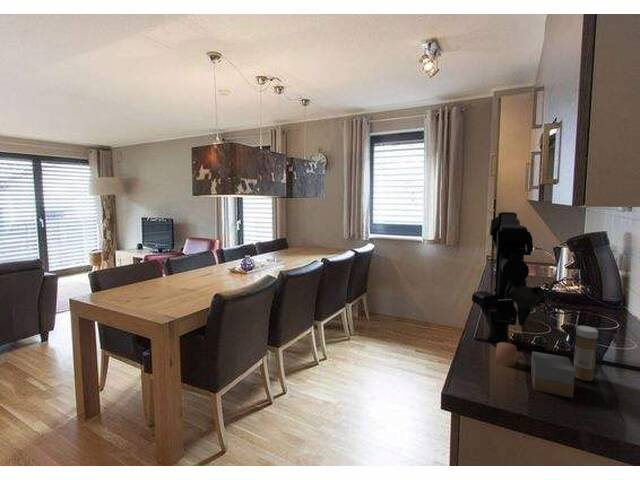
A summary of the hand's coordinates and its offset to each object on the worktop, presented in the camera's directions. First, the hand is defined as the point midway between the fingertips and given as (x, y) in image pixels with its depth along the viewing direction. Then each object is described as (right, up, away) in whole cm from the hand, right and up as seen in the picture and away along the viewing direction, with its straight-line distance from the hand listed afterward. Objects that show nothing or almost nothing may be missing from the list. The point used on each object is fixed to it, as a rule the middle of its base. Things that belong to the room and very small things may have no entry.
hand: (506, 327), depth 98 cm
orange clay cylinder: (+1, -11, +3) cm, 11 cm away
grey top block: (+6, -9, -10) cm, 15 cm away
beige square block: (+6, -13, -10) cm, 17 cm away
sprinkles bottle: (+17, -12, -5) cm, 22 cm away
